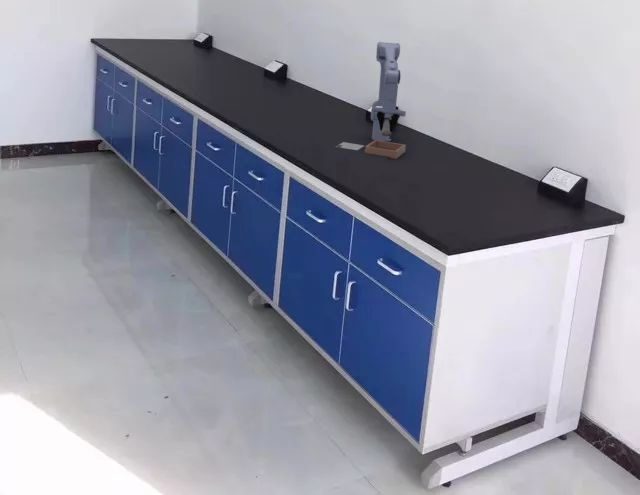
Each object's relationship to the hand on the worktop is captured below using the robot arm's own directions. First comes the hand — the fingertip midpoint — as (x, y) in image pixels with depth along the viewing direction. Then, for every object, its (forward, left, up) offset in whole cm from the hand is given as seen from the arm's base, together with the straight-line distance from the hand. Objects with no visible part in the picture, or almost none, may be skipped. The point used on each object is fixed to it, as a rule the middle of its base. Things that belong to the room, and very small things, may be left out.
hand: (386, 130), depth 337 cm
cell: (0, 0, -2) cm, 2 cm away
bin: (0, 0, -10) cm, 10 cm away
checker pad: (0, -16, -10) cm, 19 cm away
